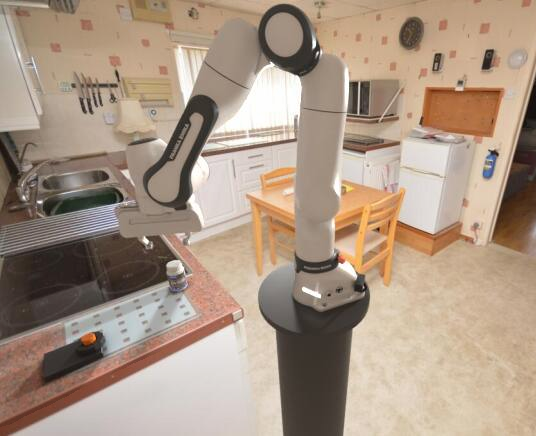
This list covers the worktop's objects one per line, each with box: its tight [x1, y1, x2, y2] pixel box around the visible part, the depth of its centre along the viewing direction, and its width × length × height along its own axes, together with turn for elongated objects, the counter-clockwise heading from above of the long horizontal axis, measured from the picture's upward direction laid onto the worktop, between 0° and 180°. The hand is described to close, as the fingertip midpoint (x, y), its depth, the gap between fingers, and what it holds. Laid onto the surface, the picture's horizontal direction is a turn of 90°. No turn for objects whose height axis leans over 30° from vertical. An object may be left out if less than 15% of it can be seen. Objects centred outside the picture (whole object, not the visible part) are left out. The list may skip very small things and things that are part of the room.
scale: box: [42, 330, 107, 383], centre depth 65 cm, size 11×8×3 cm
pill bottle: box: [165, 259, 188, 292], centre depth 86 cm, size 5×5×8 cm
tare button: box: [80, 332, 96, 346], centre depth 66 cm, size 2×2×2 cm
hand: (168, 246), depth 82 cm, fingers open, 8 cm apart
